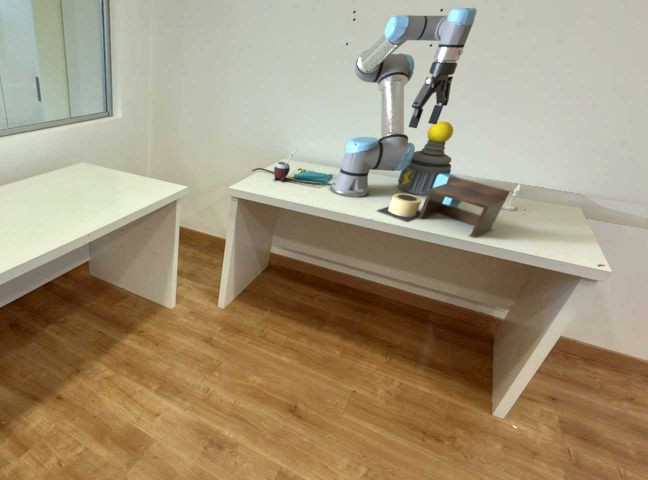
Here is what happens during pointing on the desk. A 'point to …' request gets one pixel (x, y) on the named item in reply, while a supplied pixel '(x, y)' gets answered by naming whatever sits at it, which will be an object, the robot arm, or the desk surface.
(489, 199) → the desk shelf
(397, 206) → the tape roll
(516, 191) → the chess piece
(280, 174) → the mate gourd
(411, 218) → the desk mat
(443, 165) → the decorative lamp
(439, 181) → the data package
